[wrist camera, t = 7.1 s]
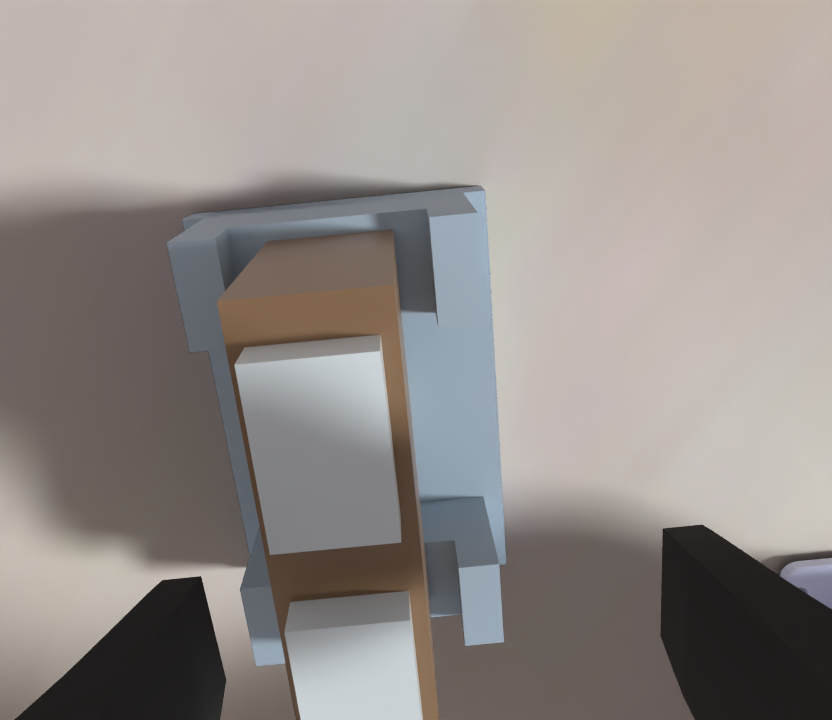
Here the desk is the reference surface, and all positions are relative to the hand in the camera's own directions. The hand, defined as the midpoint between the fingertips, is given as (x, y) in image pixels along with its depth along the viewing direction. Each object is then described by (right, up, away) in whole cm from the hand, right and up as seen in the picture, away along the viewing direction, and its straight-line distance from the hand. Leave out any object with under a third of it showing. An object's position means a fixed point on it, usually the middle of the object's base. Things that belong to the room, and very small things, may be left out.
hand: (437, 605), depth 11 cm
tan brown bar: (-2, +2, +6) cm, 7 cm away
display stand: (-2, +3, +9) cm, 10 cm away
